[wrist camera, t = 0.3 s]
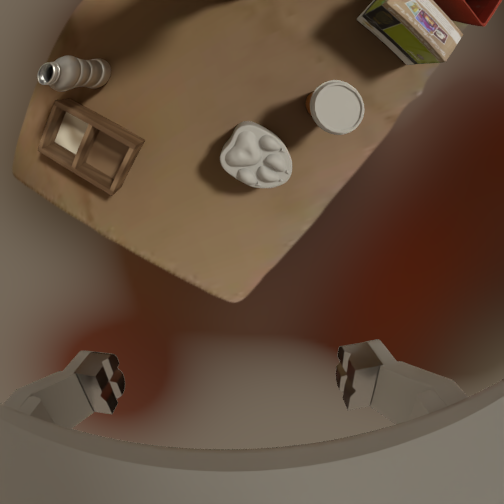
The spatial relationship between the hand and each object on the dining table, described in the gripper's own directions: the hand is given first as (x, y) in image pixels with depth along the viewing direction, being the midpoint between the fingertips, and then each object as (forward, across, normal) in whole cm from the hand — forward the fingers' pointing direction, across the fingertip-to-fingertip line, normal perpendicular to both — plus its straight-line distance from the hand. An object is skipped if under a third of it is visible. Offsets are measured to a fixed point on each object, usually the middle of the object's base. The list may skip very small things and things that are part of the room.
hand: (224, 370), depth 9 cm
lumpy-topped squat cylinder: (+50, -4, -13) cm, 52 cm away
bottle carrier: (+48, +31, -19) cm, 60 cm away
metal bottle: (+43, +27, -34) cm, 61 cm away
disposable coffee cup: (+47, -17, -22) cm, 55 cm away
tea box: (+41, -34, -41) cm, 67 cm away
